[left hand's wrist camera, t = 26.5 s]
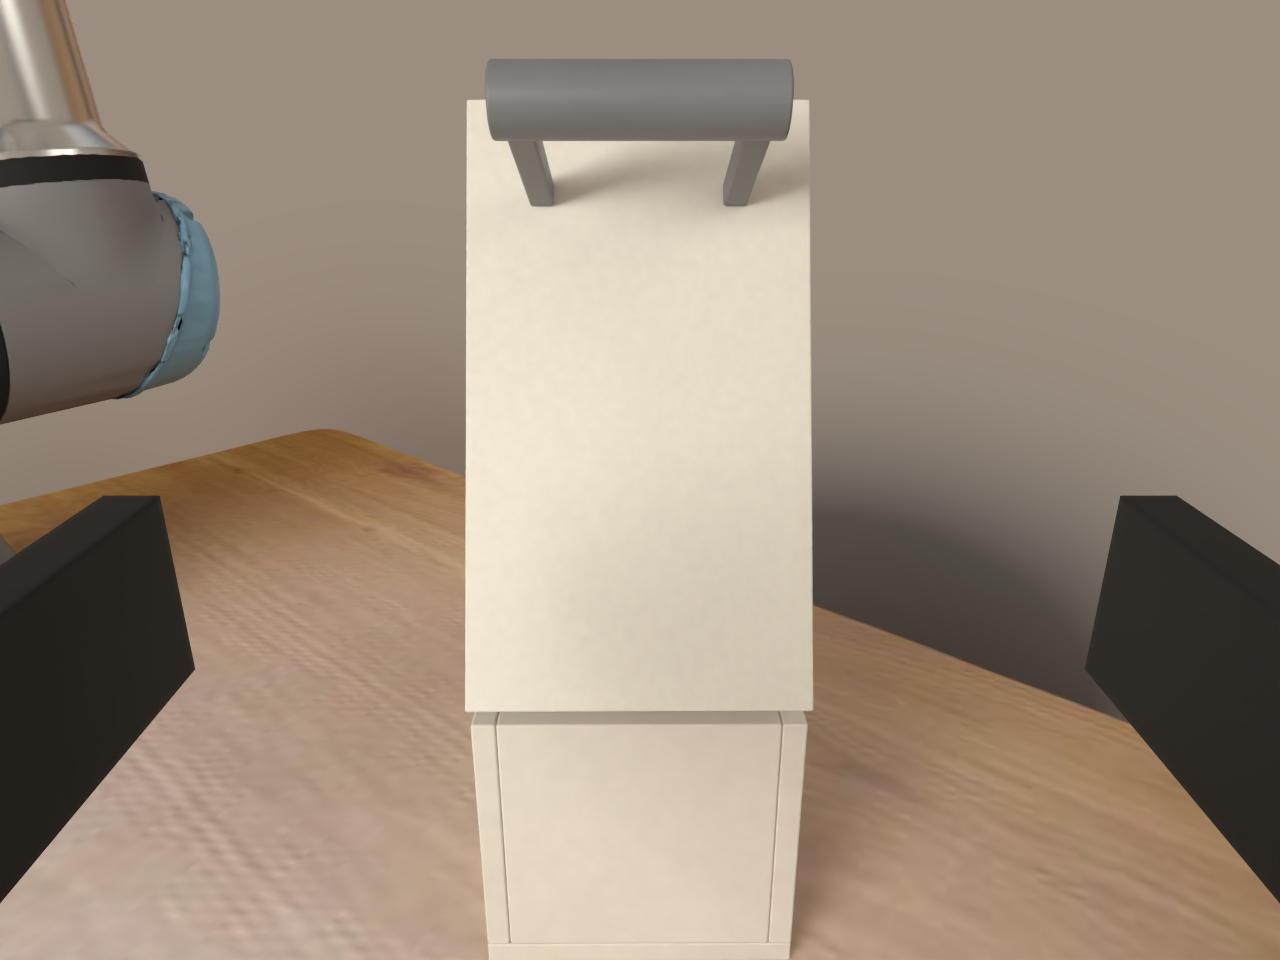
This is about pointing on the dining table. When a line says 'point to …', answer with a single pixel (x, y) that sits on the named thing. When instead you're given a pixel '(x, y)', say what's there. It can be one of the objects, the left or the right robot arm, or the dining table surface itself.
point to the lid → (638, 388)
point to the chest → (639, 833)
